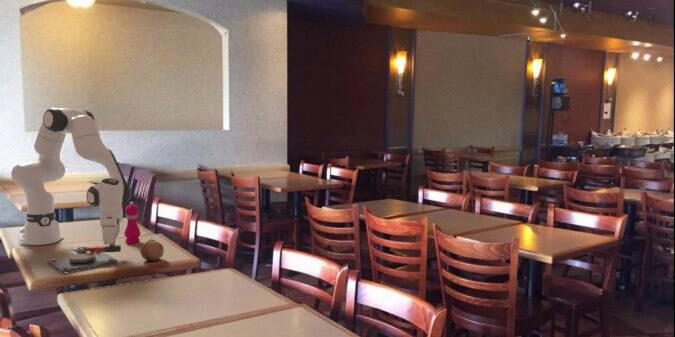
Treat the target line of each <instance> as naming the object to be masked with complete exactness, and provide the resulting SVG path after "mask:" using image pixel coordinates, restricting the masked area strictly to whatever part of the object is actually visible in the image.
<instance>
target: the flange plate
mask: <svg viewBox="0 0 675 337" xmlns="http://www.w3.org/2000/svg"><path fill="white" fill-rule="evenodd" d="M95 256H96V259H95V260H93V261H90V262H84V263H72V262H70V261H69V256H64V257H59V258H58V257H57V258H54V257H53V258H51V259H48V260H47V264H48V265H49V266H50V265H51V266H52V267H51V266H50V267H51V268H53V267H54V268H55V269H54V268H53V269H54V270H56V271H57V270H58V271H59V272H58V271H57V272H58V273H60V272H61V273H65V272H70V273H73V272H72V271H75V272H78V271H77V270H81V271H83V270H82V269H86V270H89V269H88V268H91V269H95V268H94V267H97V268H100V267H101V266H102V267H106V265H107V266H111V264H113V265H117V264H116V263H118V262H119V261H118V259H117V258H115V257H113V256H111V255H109V254H107V253H106V252H95ZM61 273H60V274H61ZM65 274H66V273H65Z"/></svg>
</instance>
